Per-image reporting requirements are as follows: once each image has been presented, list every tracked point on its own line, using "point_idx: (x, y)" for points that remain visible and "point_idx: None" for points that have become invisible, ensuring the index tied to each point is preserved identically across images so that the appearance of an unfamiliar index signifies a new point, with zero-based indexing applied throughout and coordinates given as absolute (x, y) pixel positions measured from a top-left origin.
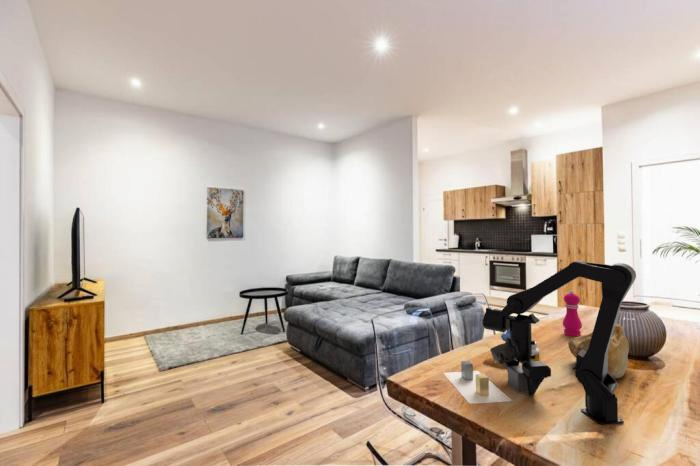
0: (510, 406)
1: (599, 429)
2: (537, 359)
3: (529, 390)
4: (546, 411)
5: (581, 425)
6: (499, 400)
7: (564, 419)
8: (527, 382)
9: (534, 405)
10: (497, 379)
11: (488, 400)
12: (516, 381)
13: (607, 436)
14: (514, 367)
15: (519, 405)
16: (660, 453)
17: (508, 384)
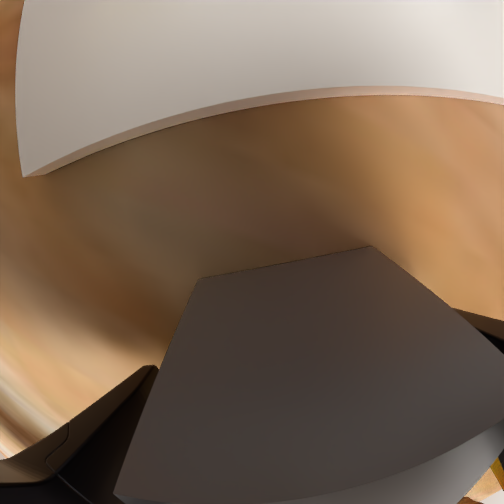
0: None
1: (23, 434)
2: (497, 477)
3: (105, 394)
4: (46, 361)
5: (15, 409)
6: (29, 73)
7: (20, 388)
8: (72, 444)
9: (84, 337)
10: (500, 216)
11: (42, 3)
12: (203, 362)
13: (2, 424)
14: (450, 484)
15: (55, 231)
16: (6, 453)
17: (381, 260)
